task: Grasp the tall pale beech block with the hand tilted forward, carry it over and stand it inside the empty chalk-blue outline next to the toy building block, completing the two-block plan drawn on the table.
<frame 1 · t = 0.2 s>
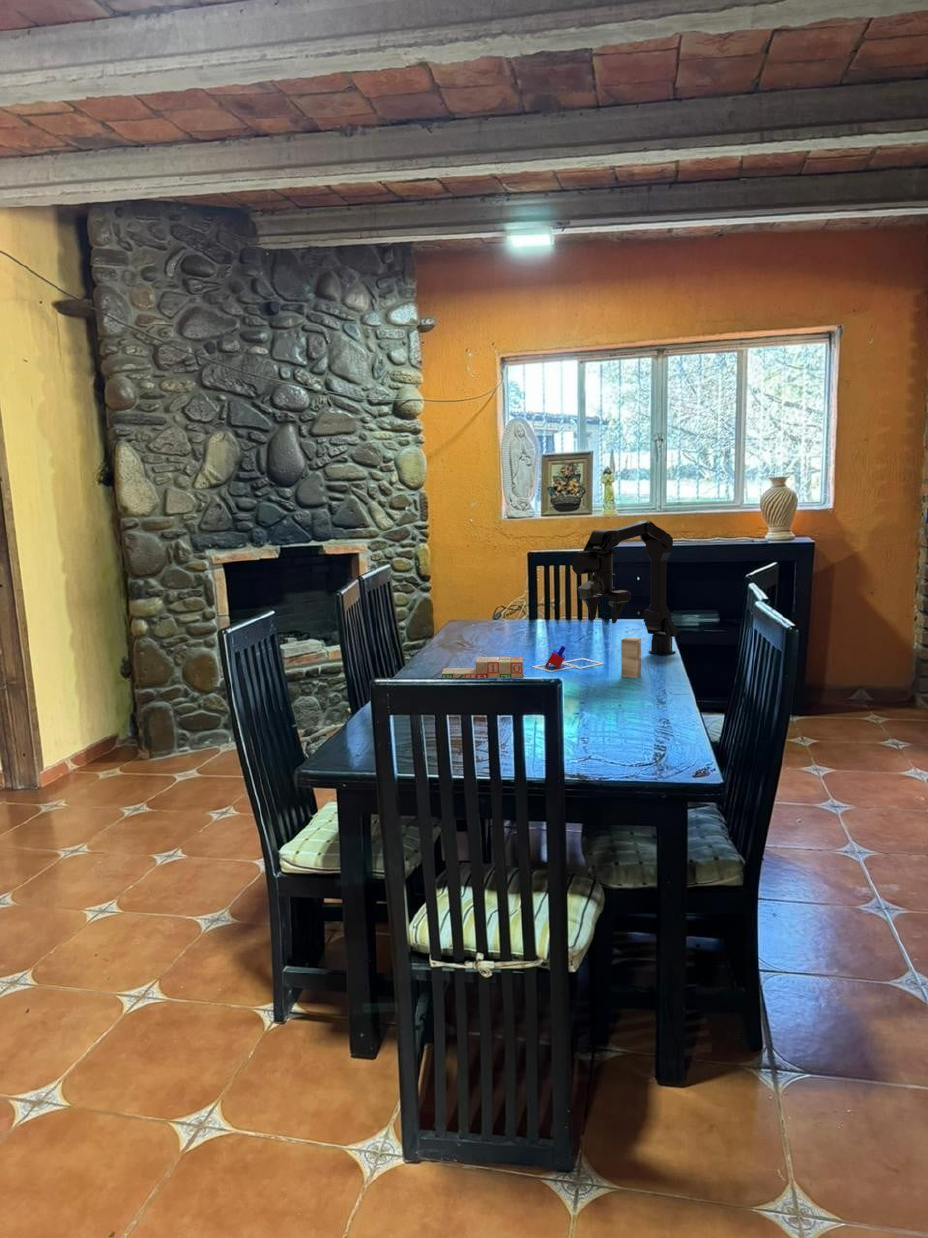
hand: (603, 621, 250), 14 cm above the table, tool pointing down, fingers open, 9 cm apart
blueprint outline: (581, 663, 256), on the table
toy building block: (555, 667, 253), on the table, touching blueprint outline
beech pillar: (631, 675, 239), on the table
stack of blocks: (483, 705, 214), on the table
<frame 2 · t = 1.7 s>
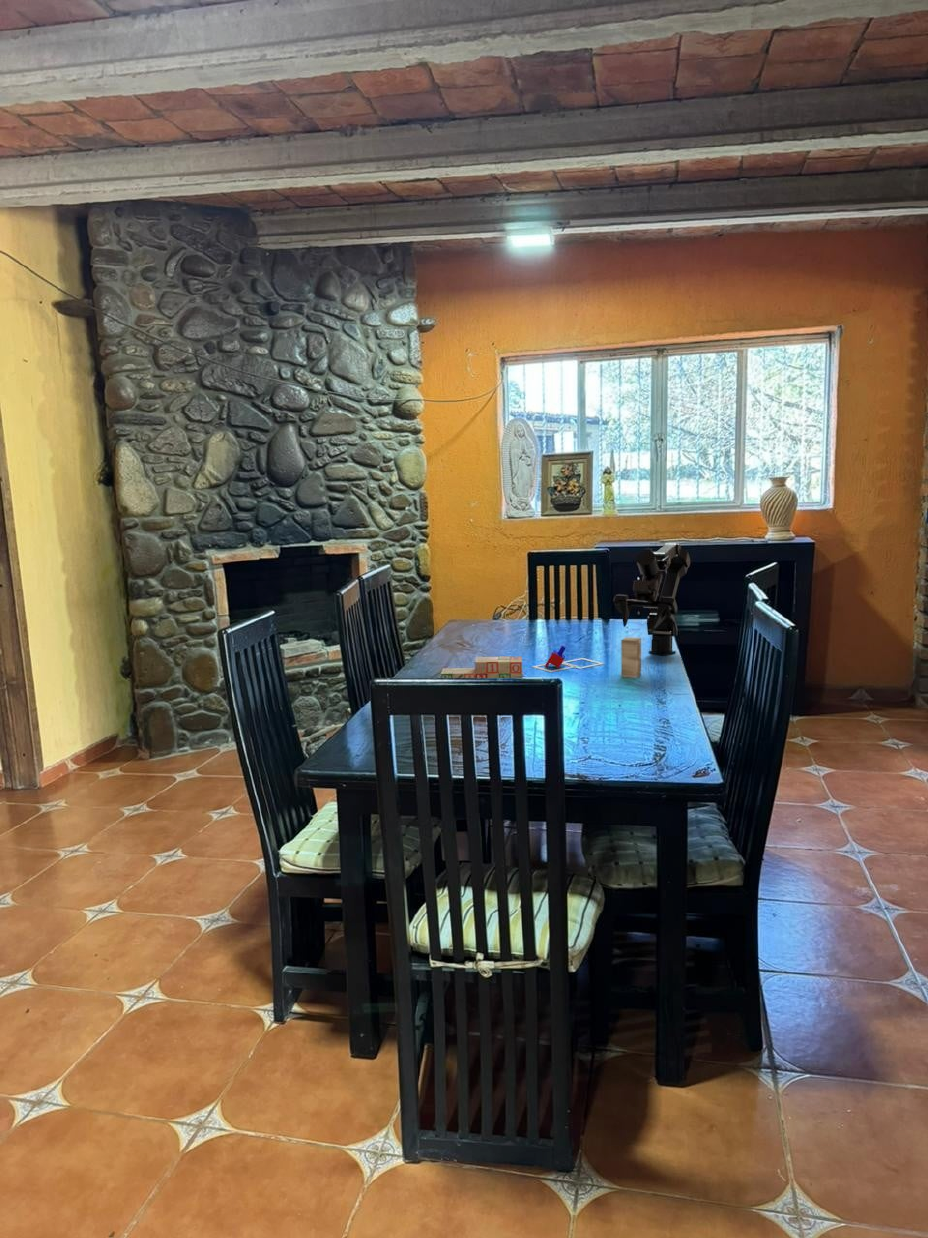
hand: (638, 626, 243), 13 cm above the table, tool tilted 45°, fingers open, 9 cm apart
nothing on the table moved.
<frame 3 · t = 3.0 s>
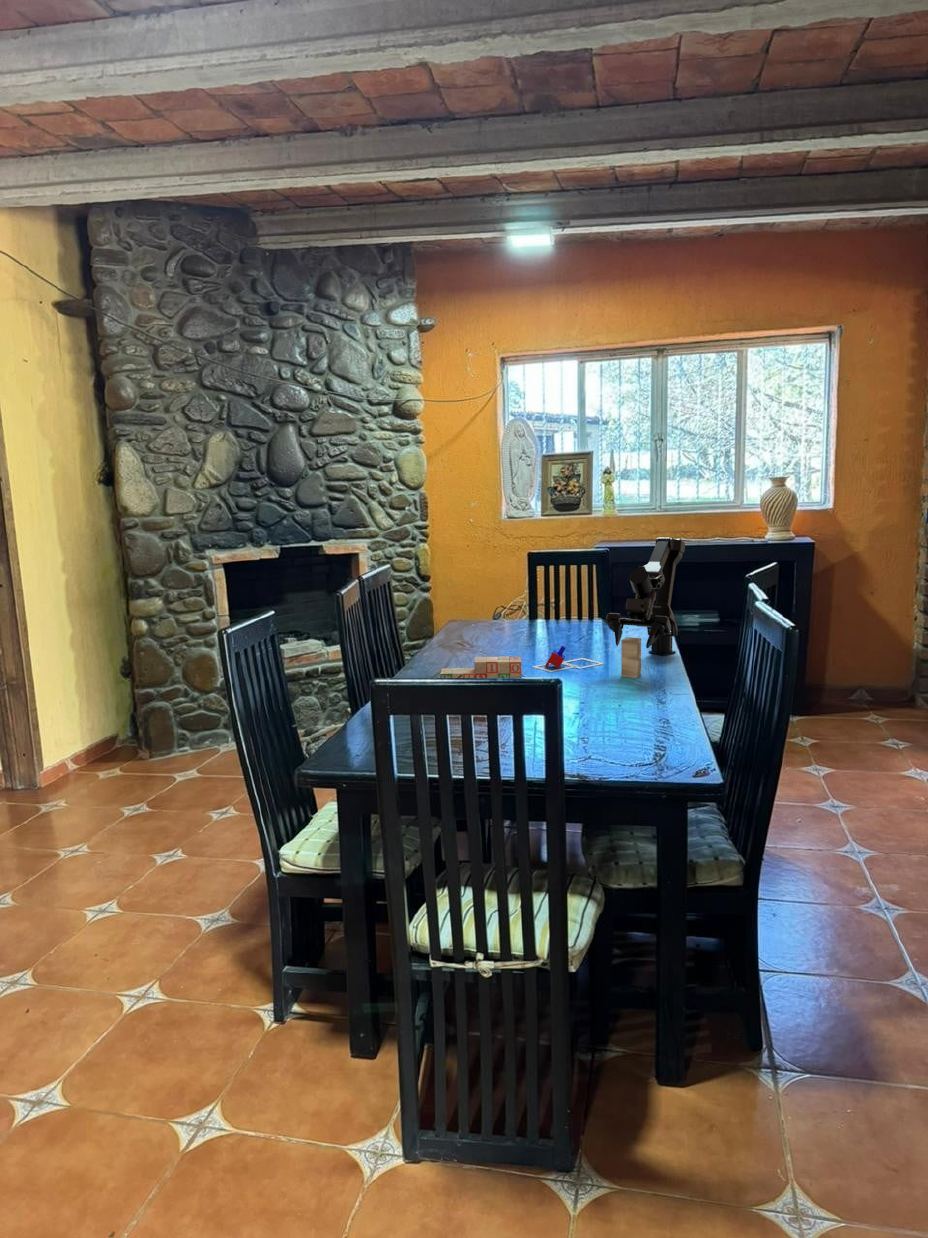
hand: (631, 646, 238), 9 cm above the table, tool tilted 45°, fingers open, 9 cm apart
nothing on the table moved.
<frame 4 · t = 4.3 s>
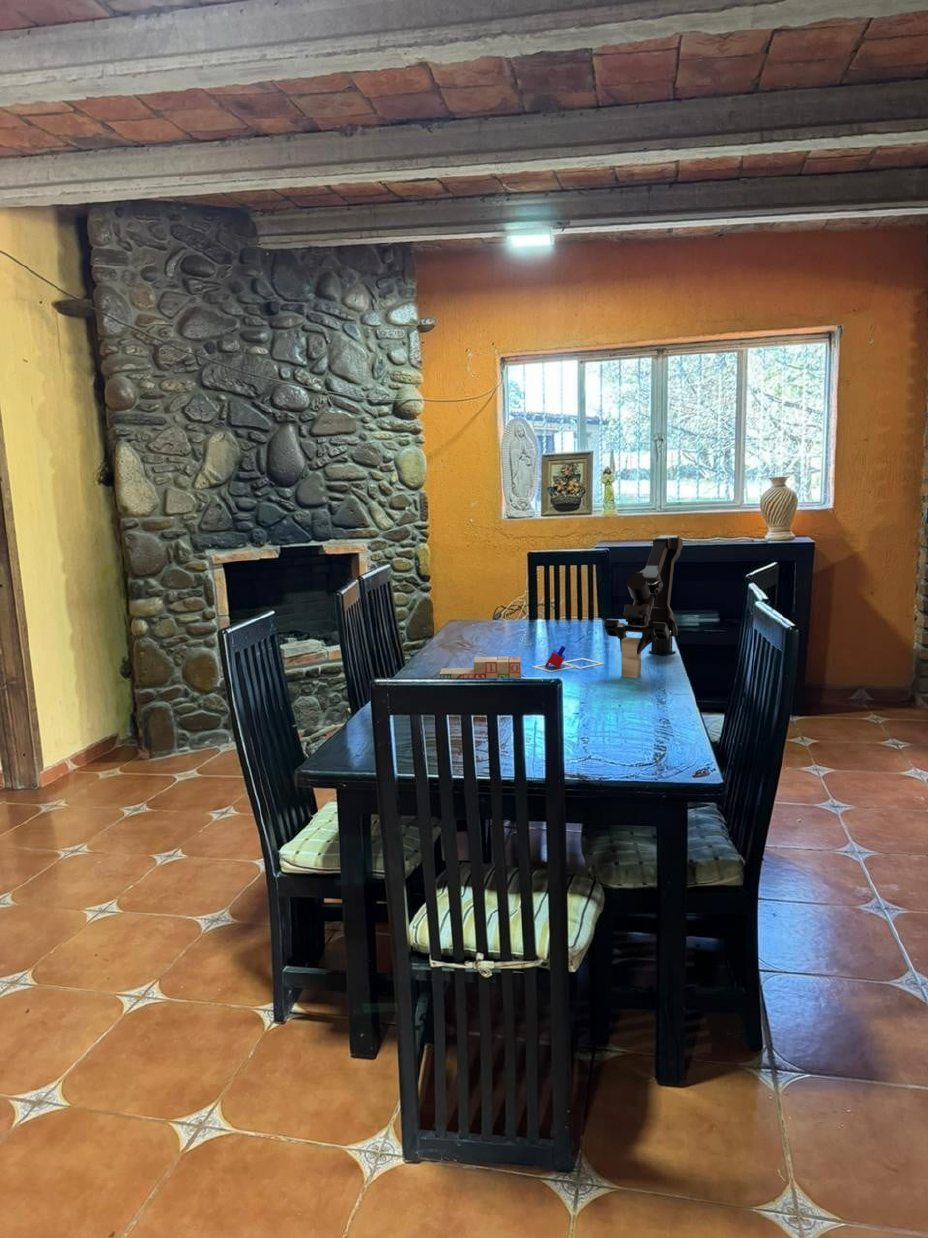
hand: (629, 652, 237), 7 cm above the table, tool tilted 45°, fingers closed on beech pillar, 4 cm apart
beech pillar: (631, 675, 239), on the table, touching gripper
everything else where it was.
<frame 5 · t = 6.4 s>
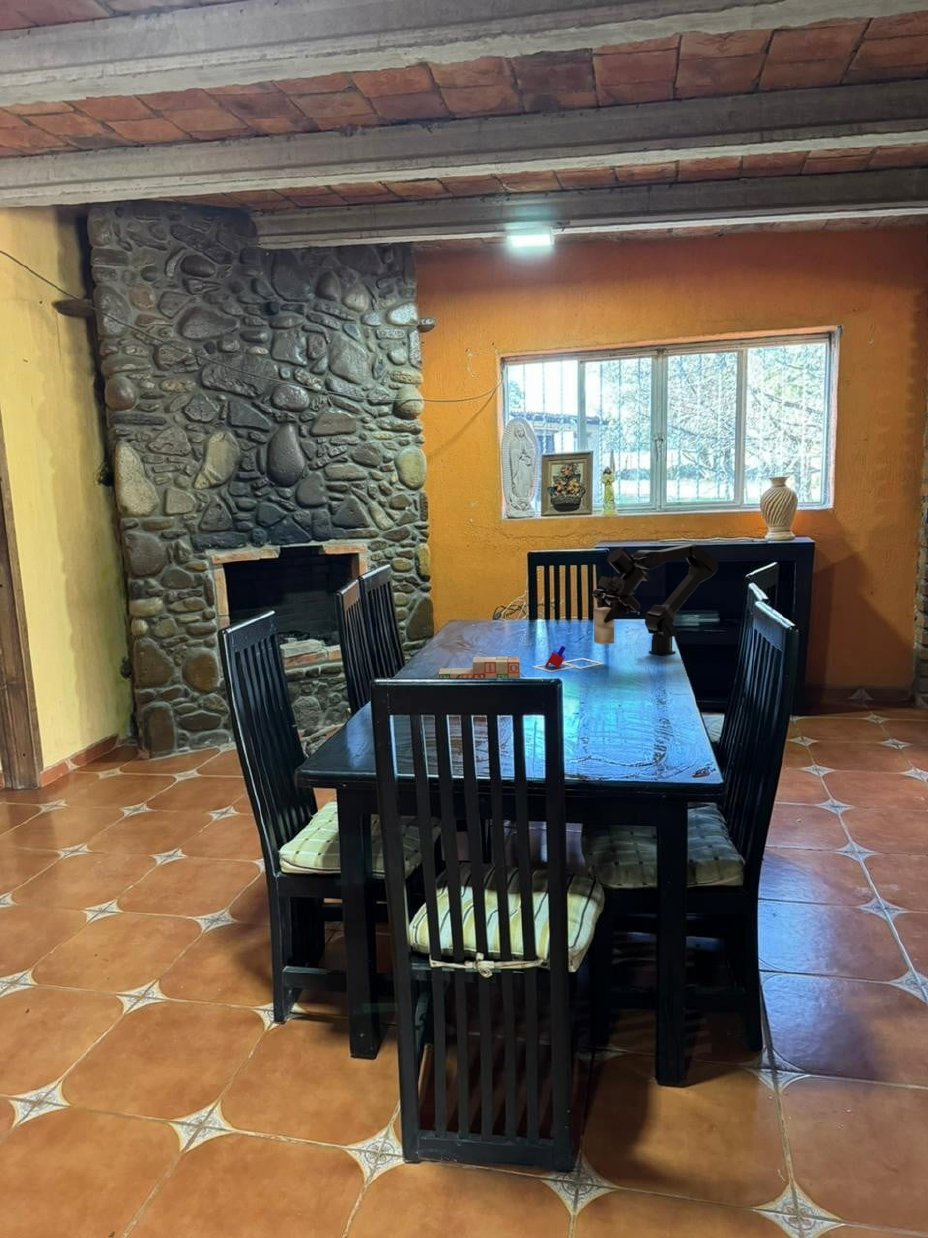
hand: (600, 621, 254), 13 cm above the table, tool tilted 45°, fingers closed on beech pillar, 4 cm apart
beech pillar: (604, 642, 256), point 6 cm above the table, touching gripper
everything else where it was.
when the fingers open (8 cm above the table, at t = 8.8 s): beech pillar stays where it is, on the table.
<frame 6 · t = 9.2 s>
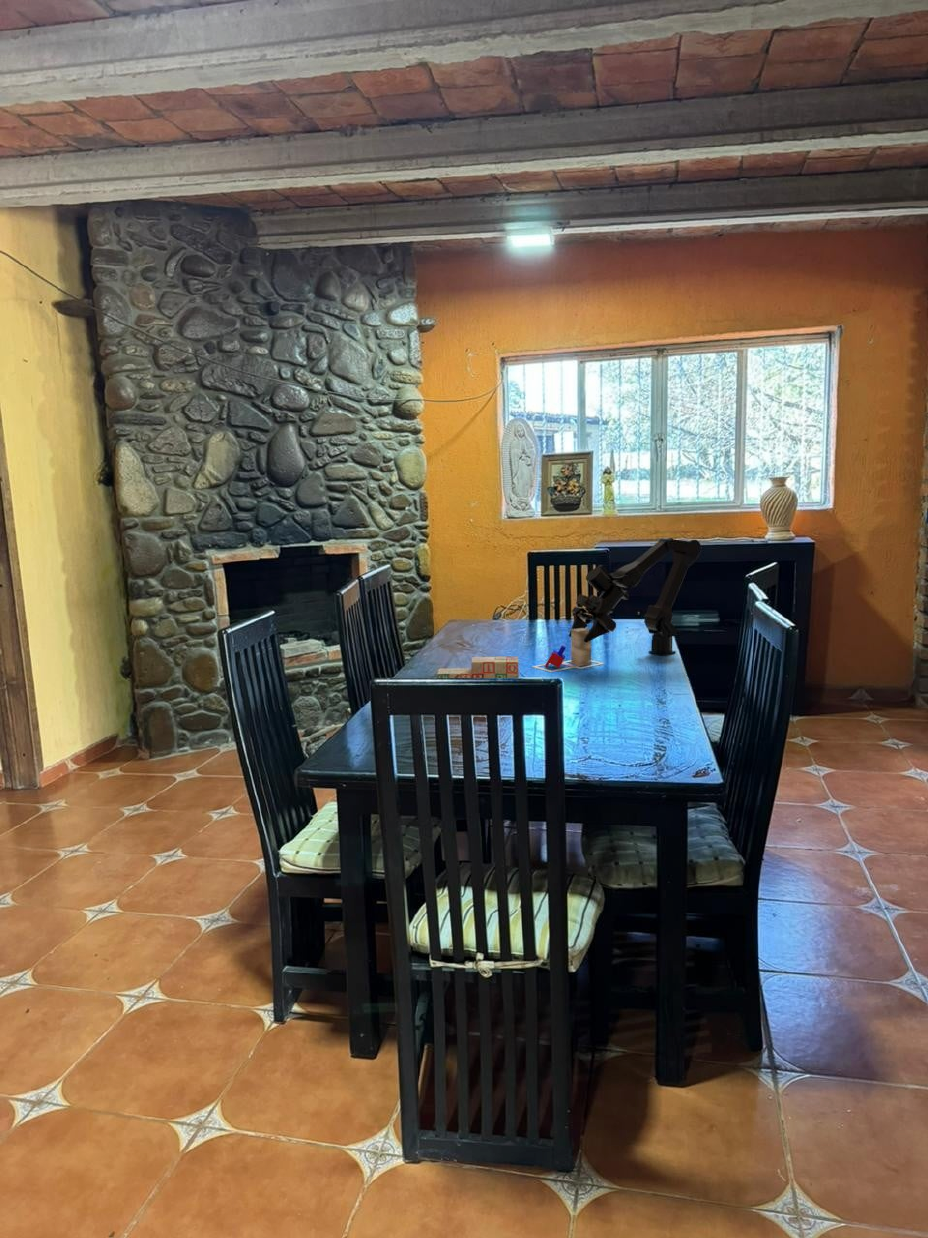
hand: (577, 639, 254), 8 cm above the table, tool tilted 45°, fingers open, 9 cm apart
beech pillar: (581, 663, 256), on the table
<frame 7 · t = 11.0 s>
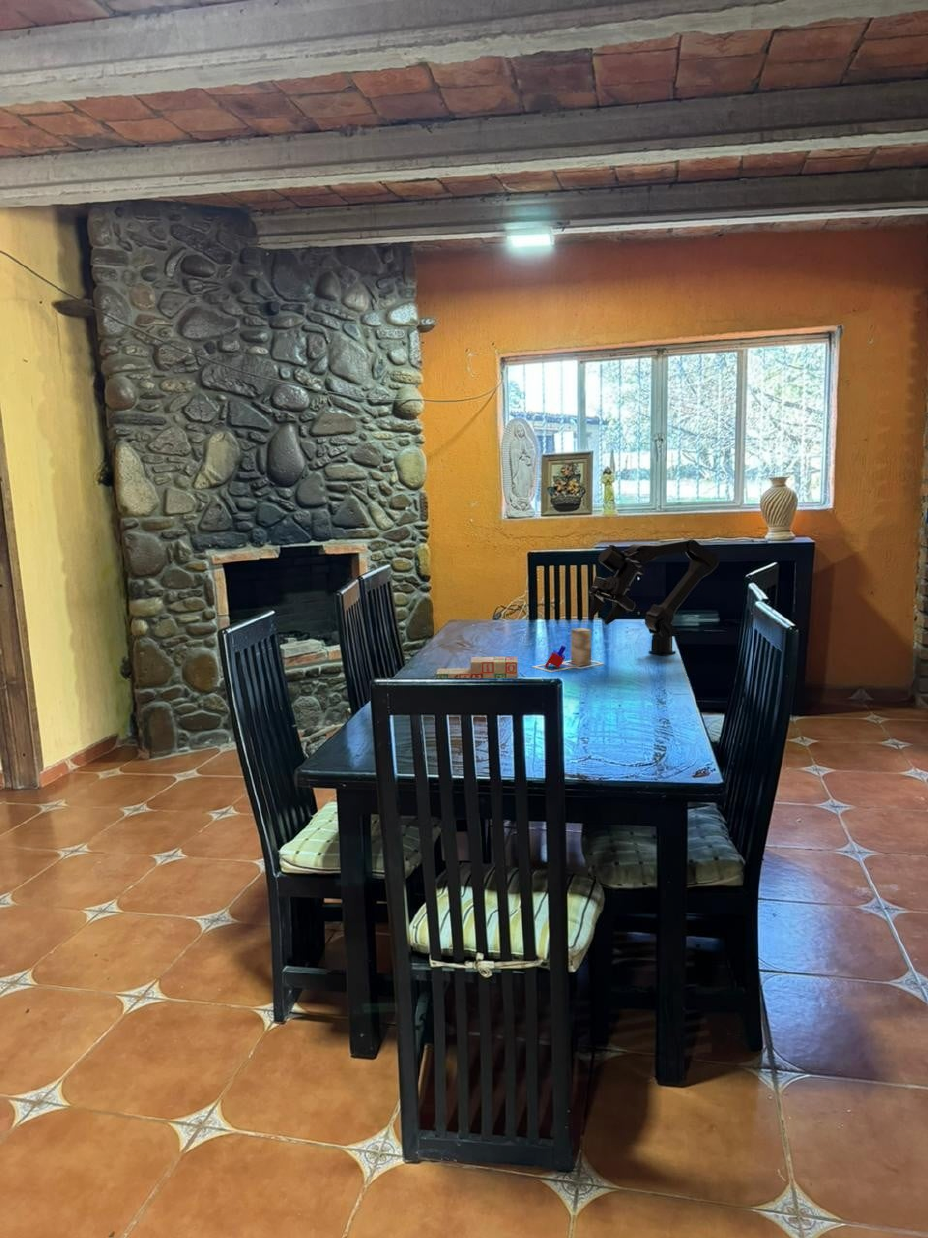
hand: (597, 620, 258), 13 cm above the table, tool tilted 35°, fingers open, 9 cm apart
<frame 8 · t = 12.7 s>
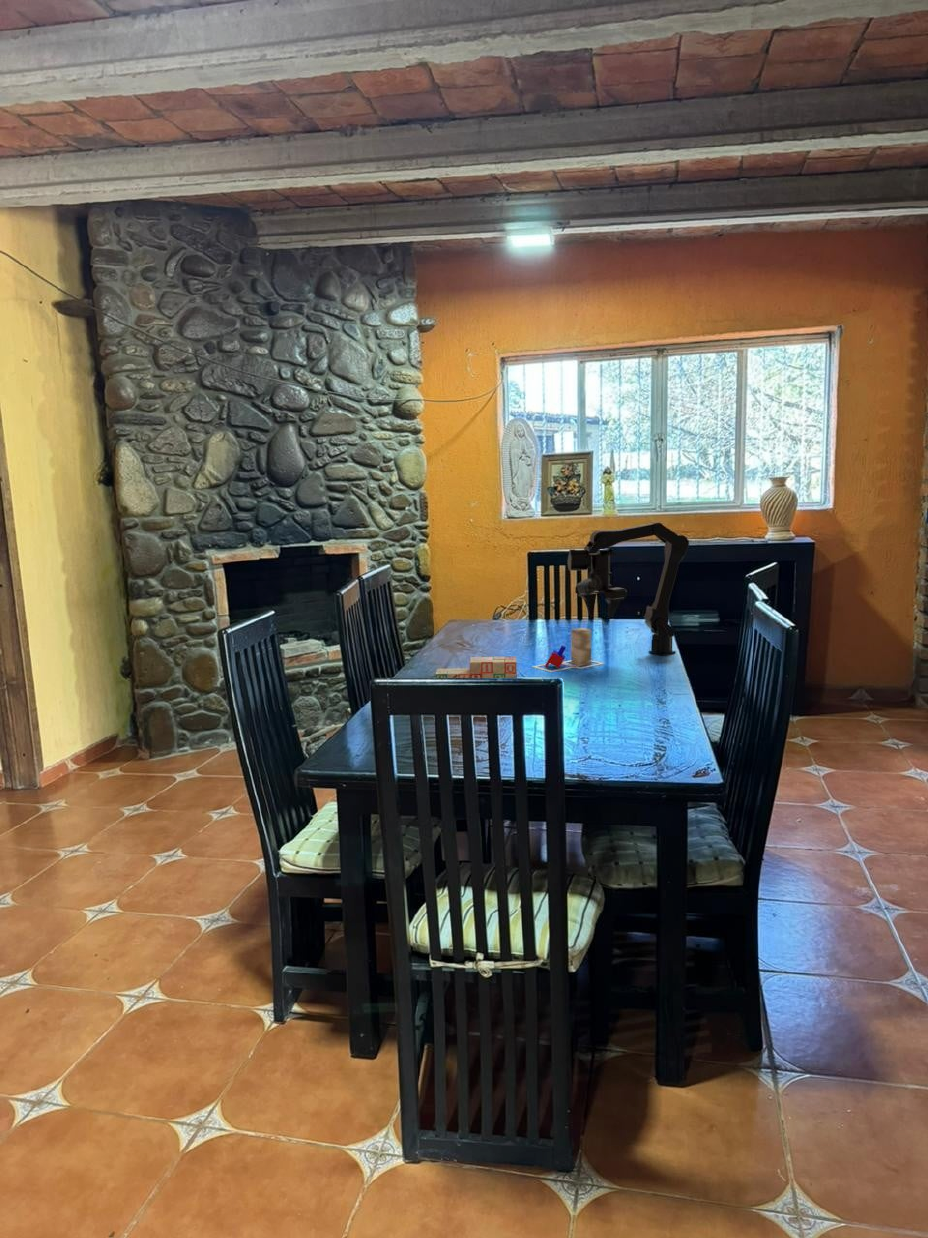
hand: (600, 617, 263), 13 cm above the table, tool pointing down, fingers open, 9 cm apart
at the end: beech pillar inside the target area (0.0 cm from its centre), on the table; beech pillar tilted 0°; the gripper is holding nothing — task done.
